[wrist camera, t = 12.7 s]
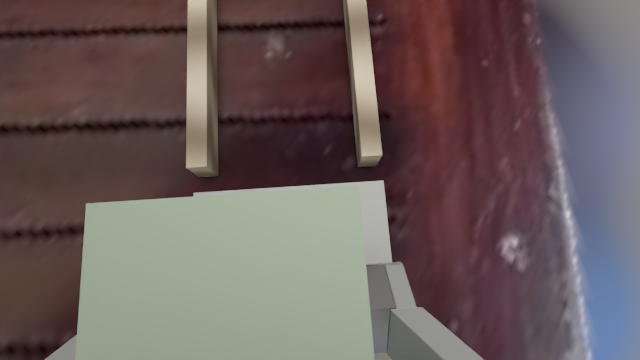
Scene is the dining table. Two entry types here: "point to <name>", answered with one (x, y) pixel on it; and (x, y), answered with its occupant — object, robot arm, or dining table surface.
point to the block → (226, 278)
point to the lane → (206, 86)
